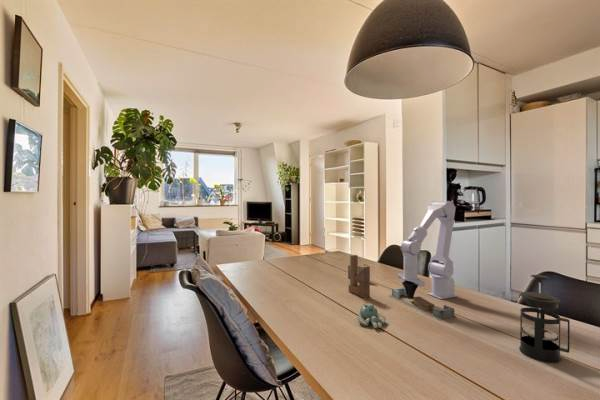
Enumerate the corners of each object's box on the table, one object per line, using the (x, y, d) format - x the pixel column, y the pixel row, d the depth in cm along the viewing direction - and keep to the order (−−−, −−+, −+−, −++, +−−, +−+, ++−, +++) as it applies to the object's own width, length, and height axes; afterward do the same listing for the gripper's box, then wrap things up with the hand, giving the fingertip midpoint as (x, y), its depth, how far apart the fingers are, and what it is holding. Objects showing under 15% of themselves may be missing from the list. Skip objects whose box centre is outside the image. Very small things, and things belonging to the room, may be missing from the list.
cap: (403, 294, 137) (403, 287, 137) (409, 296, 133) (409, 289, 133) (391, 295, 135) (391, 289, 135) (397, 298, 131) (397, 291, 131)
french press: (514, 353, 85) (514, 275, 85) (518, 342, 92) (518, 269, 92) (569, 370, 77) (569, 283, 77) (569, 355, 84) (569, 276, 84)
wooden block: (364, 298, 132) (364, 258, 132) (348, 291, 141) (348, 254, 141) (370, 296, 134) (370, 257, 134) (353, 290, 143) (353, 254, 143)
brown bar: (419, 303, 126) (419, 296, 126) (434, 312, 116) (434, 304, 116) (413, 303, 126) (413, 296, 126) (427, 312, 116) (427, 305, 116)
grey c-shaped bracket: (445, 313, 115) (445, 305, 115) (454, 317, 111) (454, 308, 111) (432, 315, 112) (432, 307, 112) (441, 319, 109) (441, 311, 109)
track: (403, 293, 138) (403, 292, 138) (456, 316, 112) (456, 315, 112) (388, 295, 135) (388, 294, 135) (439, 320, 108) (439, 318, 108)
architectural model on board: (368, 281, 159) (368, 264, 159) (365, 283, 157) (365, 265, 157) (351, 278, 167) (351, 261, 167) (348, 279, 165) (348, 262, 165)
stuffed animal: (364, 316, 99) (352, 298, 110) (362, 335, 100) (351, 315, 112) (393, 314, 100) (379, 296, 112) (392, 333, 102) (377, 313, 113)
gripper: (392, 264, 133) (392, 294, 134) (415, 272, 120) (415, 305, 120) (404, 263, 136) (404, 292, 136) (428, 270, 122) (428, 302, 123)
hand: (410, 298), depth 128 cm, fingers closed
